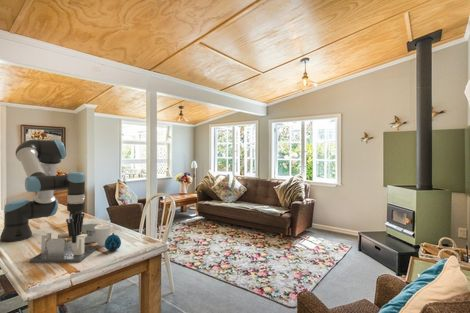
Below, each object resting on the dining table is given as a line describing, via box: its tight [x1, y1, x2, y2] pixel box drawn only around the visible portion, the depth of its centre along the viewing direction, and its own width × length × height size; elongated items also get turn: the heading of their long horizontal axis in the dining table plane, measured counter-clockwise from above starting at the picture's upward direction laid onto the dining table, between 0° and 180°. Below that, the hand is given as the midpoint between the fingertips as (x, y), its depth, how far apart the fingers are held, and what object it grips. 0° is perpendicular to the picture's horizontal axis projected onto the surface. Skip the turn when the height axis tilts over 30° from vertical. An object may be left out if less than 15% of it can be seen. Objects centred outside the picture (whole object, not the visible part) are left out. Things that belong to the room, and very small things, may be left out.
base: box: [29, 232, 98, 263], centre depth 136 cm, size 24×18×11 cm
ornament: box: [104, 232, 122, 252], centre depth 144 cm, size 8×5×10 cm, turn 114°
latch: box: [73, 233, 87, 255], centre depth 136 cm, size 4×6×9 cm, turn 4°
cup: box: [94, 223, 113, 247], centre depth 152 cm, size 10×10×11 cm
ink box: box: [81, 219, 99, 244], centre depth 158 cm, size 9×9×12 cm
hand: (75, 248), depth 131 cm, fingers closed
